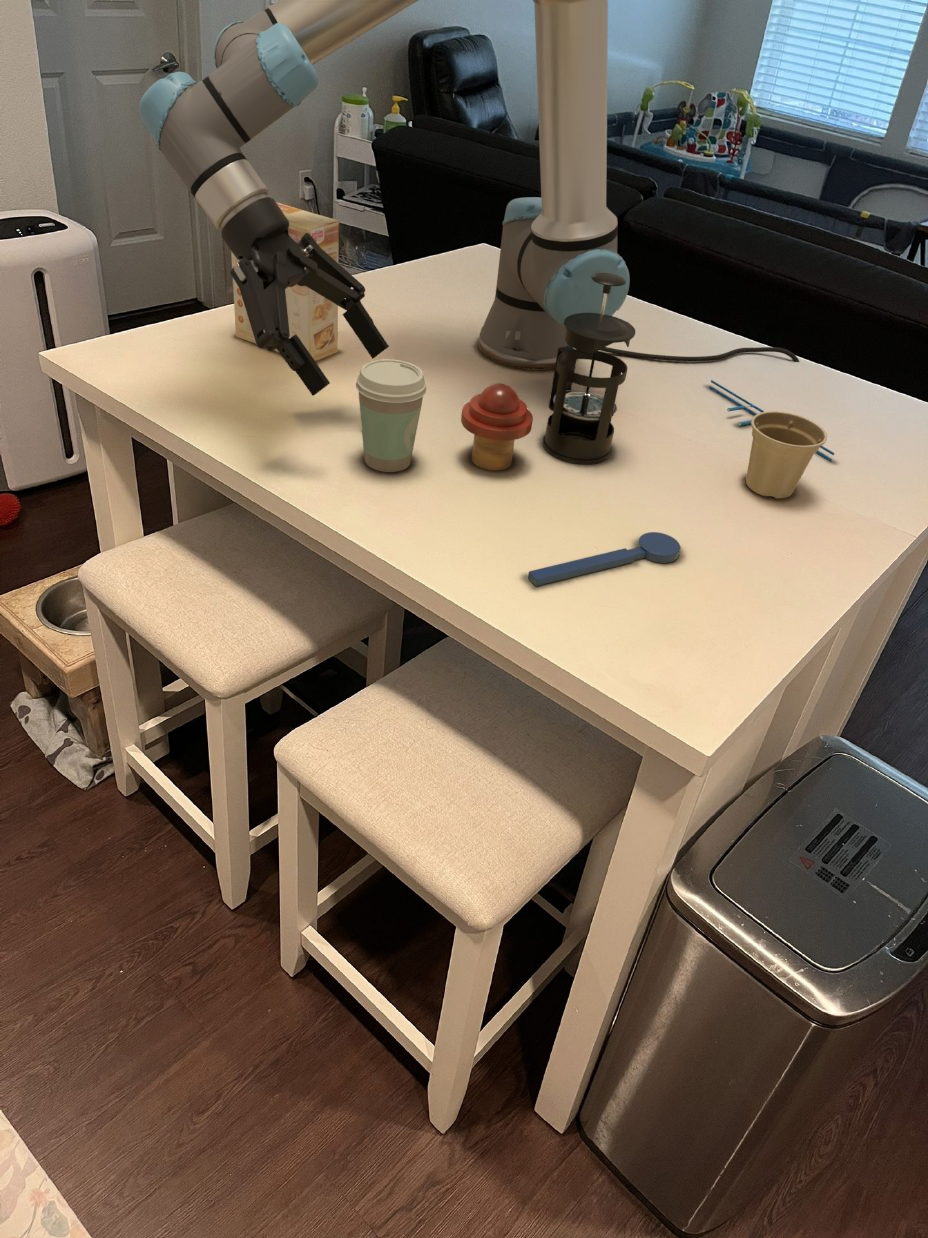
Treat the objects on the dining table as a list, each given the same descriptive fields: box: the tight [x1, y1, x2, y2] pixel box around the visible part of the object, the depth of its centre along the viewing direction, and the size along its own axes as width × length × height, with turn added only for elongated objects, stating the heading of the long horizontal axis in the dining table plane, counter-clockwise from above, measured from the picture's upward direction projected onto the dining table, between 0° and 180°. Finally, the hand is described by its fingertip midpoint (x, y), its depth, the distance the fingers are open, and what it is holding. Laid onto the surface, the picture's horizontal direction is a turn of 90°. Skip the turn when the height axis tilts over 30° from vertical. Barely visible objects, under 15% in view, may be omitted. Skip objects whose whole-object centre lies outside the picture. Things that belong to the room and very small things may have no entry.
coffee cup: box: [355, 358, 428, 473], centre depth 114 cm, size 9×8×12 cm
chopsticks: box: [708, 379, 835, 462], centre depth 136 cm, size 1×25×5 cm
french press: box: [542, 273, 636, 465], centre depth 118 cm, size 12×9×23 cm
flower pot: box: [745, 410, 828, 499], centre depth 119 cm, size 9×9×9 cm
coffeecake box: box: [230, 201, 340, 362], centre depth 136 cm, size 15×7×20 cm, turn 58°
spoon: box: [527, 531, 681, 587], centre depth 103 cm, size 20×5×1 cm, turn 118°
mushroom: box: [460, 383, 534, 471], centre depth 117 cm, size 9×9×10 cm
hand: (352, 370), depth 112 cm, fingers open, 13 cm apart
